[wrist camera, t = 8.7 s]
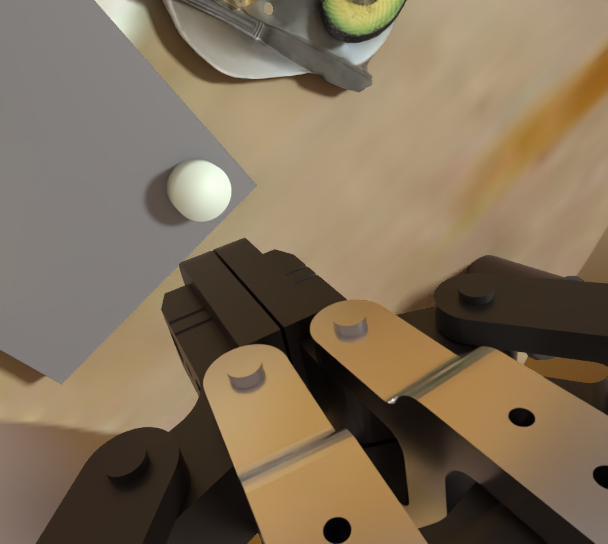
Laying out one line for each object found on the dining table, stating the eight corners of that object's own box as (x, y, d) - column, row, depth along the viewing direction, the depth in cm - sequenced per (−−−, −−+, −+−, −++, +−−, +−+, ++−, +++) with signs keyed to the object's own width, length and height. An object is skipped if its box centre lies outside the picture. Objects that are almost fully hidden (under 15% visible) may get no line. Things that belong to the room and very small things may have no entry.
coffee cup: (453, 329, 54) (533, 382, 46) (446, 263, 50) (534, 308, 42) (512, 295, 57) (597, 339, 49) (510, 229, 53) (603, 265, 45)
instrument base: (-54, -159, 24) (-59, -183, 21) (245, 178, 37) (267, 191, 34) (-366, 120, 23) (-417, 134, 20) (58, 368, 36) (64, 398, 33)
